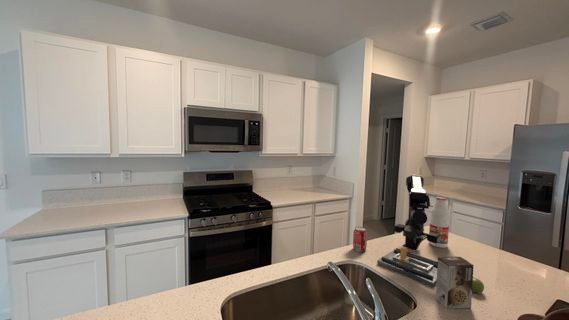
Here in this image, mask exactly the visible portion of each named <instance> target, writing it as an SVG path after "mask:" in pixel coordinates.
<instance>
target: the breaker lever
mask: <svg viewBox="0 0 569 320" xmlns="http://www.w3.org/2000/svg"><path fill="white" fill-rule="evenodd" d="M400 249H401V253H400V256H399V257H398V258H400V259H403V260H406V261H409V258H407V252H408V248H407V247H404V246H401V247H400Z"/></svg>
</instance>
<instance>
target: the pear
mask: <svg viewBox="0 0 569 320" xmlns="http://www.w3.org/2000/svg"><path fill="white" fill-rule="evenodd" d="M484 290H485V285H484V282H483V281H481V280H480V279H479V278H477V277H474V276H473V283H472V293H474V294H475V293H476V294H481V293H483V292H484Z"/></svg>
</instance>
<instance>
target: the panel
mask: <svg viewBox="0 0 569 320" xmlns="http://www.w3.org/2000/svg"><path fill="white" fill-rule="evenodd" d="M399 256H400V253H396V252H394V249H393V250H391V251H390V252H389V253H387V254H385V255H384V256H382V257H385V258H387V259H390V260H393V261H395V262H398V263H400V264H403V265H406V266H408V267H411V268H413V269H416V270H419V271H421V272H424V273H426V274H429V275H432V276H433V280H432V279H430V278H427V277H425V276H422V275H420V274H417V273H415V272H412V271H410V270H407V269H405V268H402V267H400V266H397V265H394V264H392V263H389V262H387V261H384V260H382V259H381V258H382V257H380V258H379V259H377V261H376V263H377V265H378V266H380V267H382V268H386V269H388V270H390V271H392V272H395V273H398V274H400V275H402V276H405V277H406V278H407V277H408V278H409V279H412V280H414V281H415V282H416V281H417V282H419V283H421V284H423V285H426V286H428V287H431V288H434V287H435V286H436V283H437V267H436V266H433V265H430V264H428V263H425V262H422V261H419V260H417V259H414V258H411V257H408V256H407V258H409V261H406V260H403V259H400V258H398V257H399Z"/></svg>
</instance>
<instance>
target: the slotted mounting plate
mask: <svg viewBox="0 0 569 320" xmlns="http://www.w3.org/2000/svg"><path fill="white" fill-rule="evenodd" d="M393 250H394V252H396V253H401V248H397V247H396V248H394V249H393ZM407 256H408V257H411V258H414V259H417V260H419V261H422V262H425V263H428V264H430V265H433V266H436V267H437V266H438V261H436V260H433V259H430V258H427V257H424V256H421V255H418V254H415V253H412V252H410V251H407ZM380 258H381V259H382V260H384V261H387V262H389V263H392V264H394V265H397V266H400V267H402V268H405V269H407V270H410V271H412V272H415V273H417V274H420V275H422V276H425V277H427V278H430V279H432V280H433V276H432V275H429V274H426V273H424V272H421V271H419V270H416V269H413V268H411V267H408V266H406V265H403V264H400V263H398V262H395V261H393V260H390V259H387V258H385V257H383V256H381V257H380Z"/></svg>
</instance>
